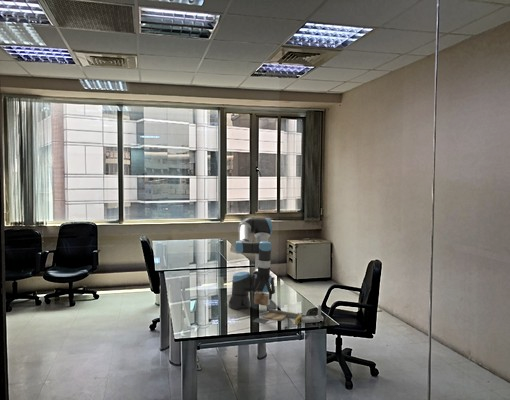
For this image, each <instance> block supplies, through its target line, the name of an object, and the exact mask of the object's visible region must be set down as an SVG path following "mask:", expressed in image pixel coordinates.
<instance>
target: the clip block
mask: <svg viewBox="0 0 510 400" xmlns="http://www.w3.org/2000/svg"><path fill="white" fill-rule="evenodd" d="M268 294H269V293H267V292H266V293H262V292H257V293H256V294H255V301H254V300H253V303H254V305H260V306H265V307H267V306H268V305H267V301H268Z"/></svg>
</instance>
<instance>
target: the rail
mask: <svg viewBox="0 0 510 400" xmlns="http://www.w3.org/2000/svg"><path fill="white" fill-rule="evenodd" d="M268 312H271V313H276V314H282V315H286V317H285V318H290V319H294V325H299V324H300V322H301V317H303V314H302V313H298V312H297V313H296V312H291V311H284V310H279V309H273V308H269V309H268Z"/></svg>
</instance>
